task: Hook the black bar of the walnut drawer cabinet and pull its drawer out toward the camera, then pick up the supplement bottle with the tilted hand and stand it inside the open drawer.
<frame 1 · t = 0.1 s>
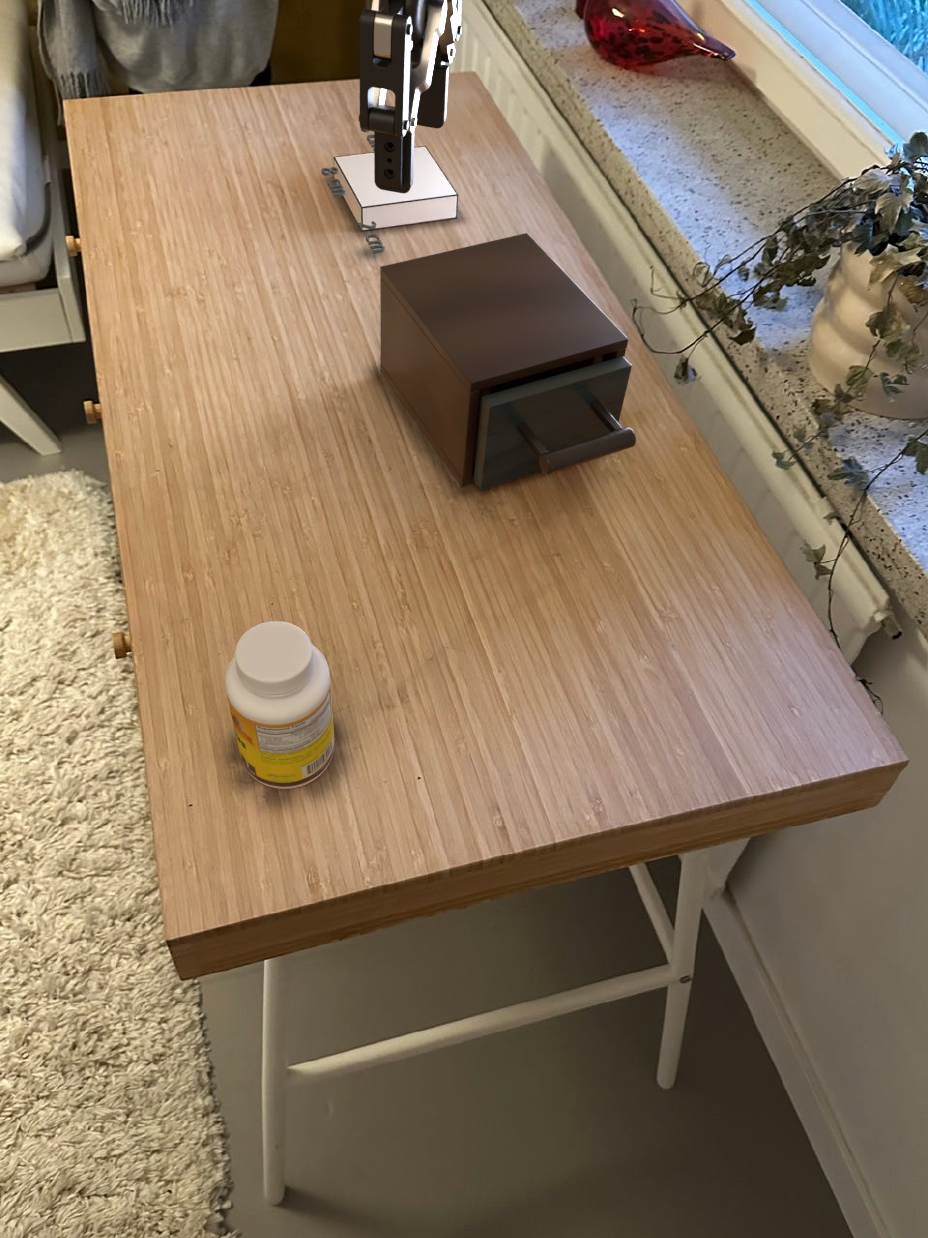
hand: (411, 154, 64), 21 cm above the table, tool pointing down, fingers open, 8 cm apart
supplement bottle: (288, 754, 61), on the table
cabinet: (490, 405, 81), on the table
drawer: (525, 392, 75), point 5 cm above the table, slide at 0.5 cm
container: (385, 201, 99), on the table
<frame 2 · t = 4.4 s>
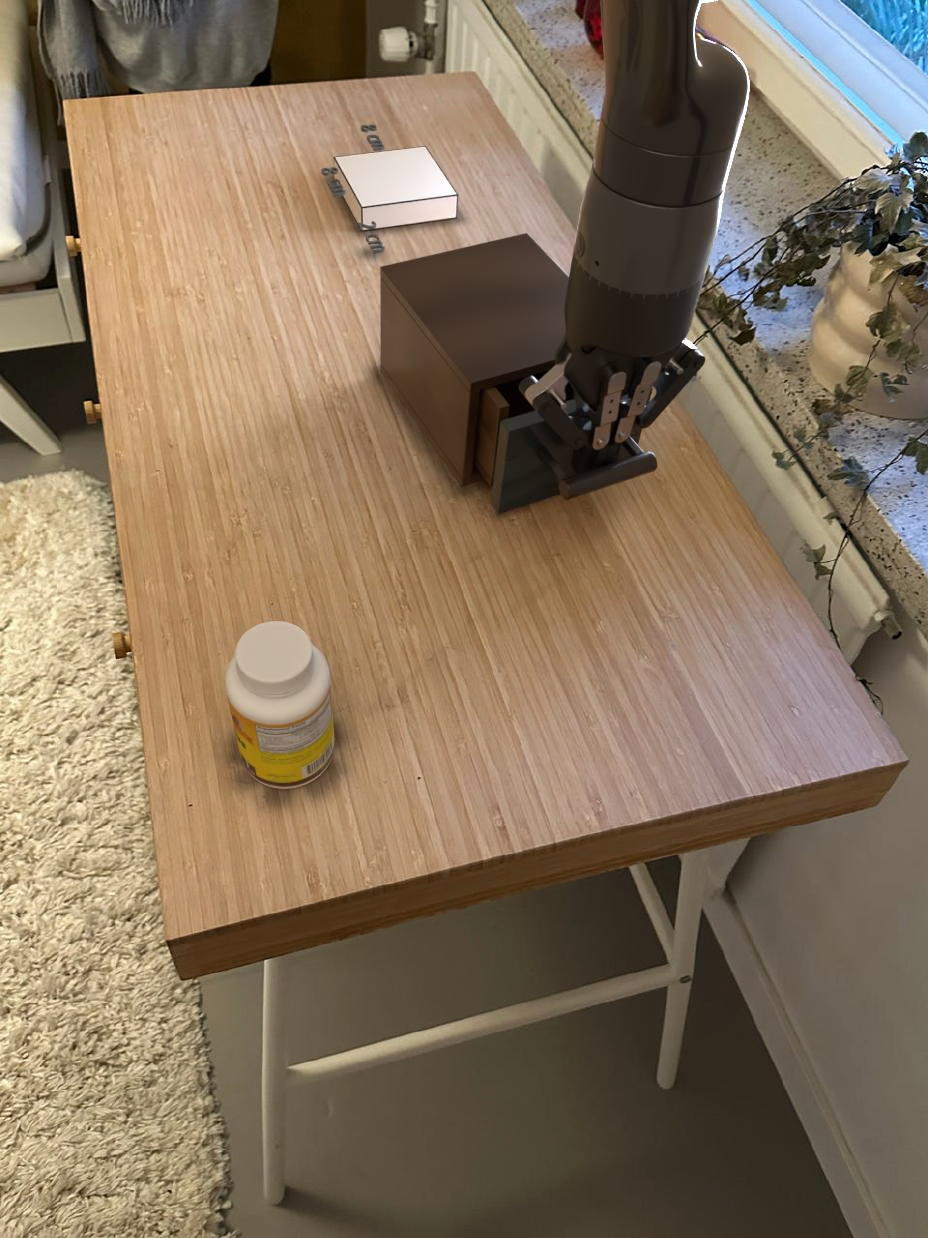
hand: (591, 476, 70), 4 cm above the table, tool pointing down, fingers closed
drawer: (543, 414, 73), point 5 cm above the table, slide at 3.2 cm, touching gripper
everything else where it was.
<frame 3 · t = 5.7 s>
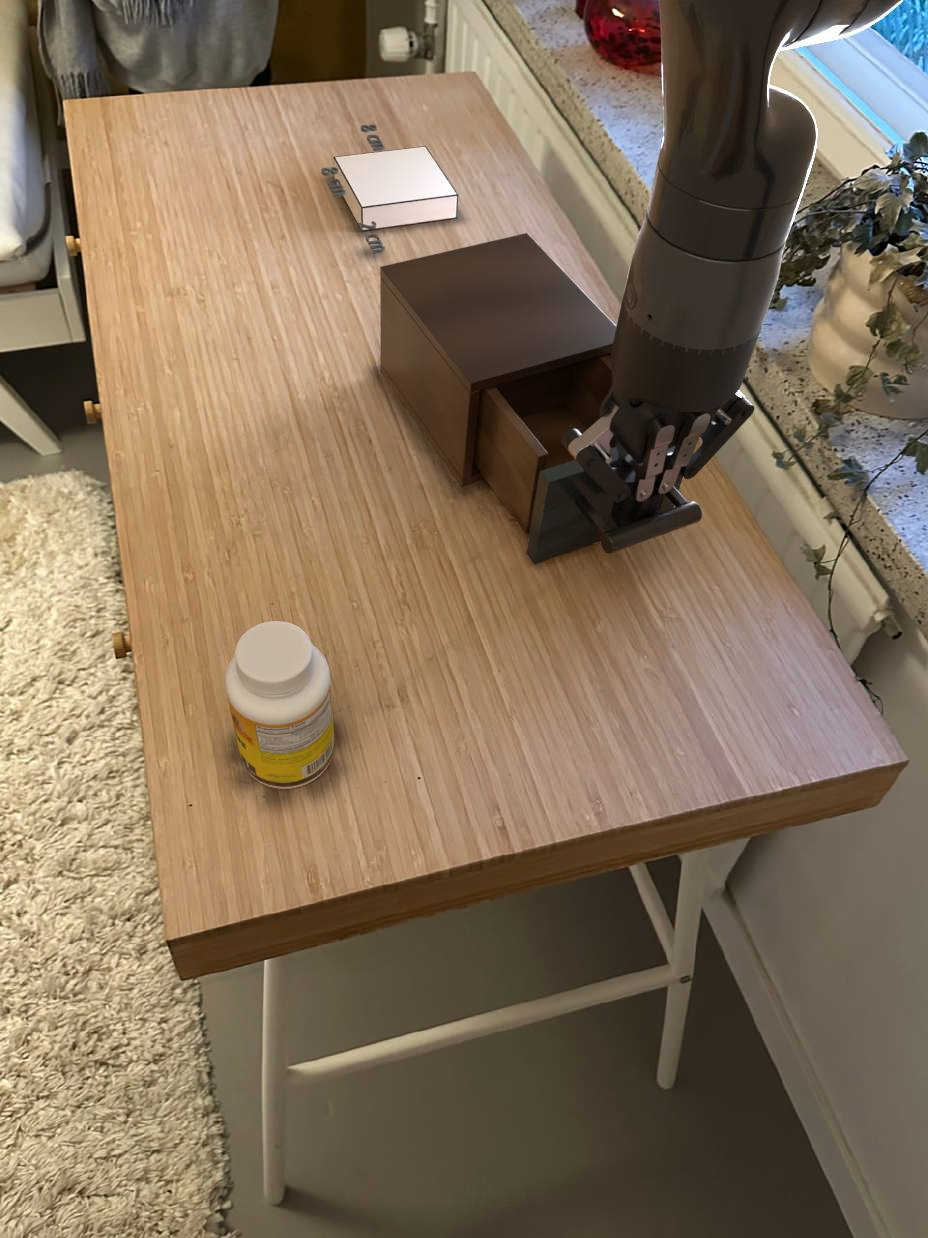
hand: (631, 526, 68), 4 cm above the table, tool pointing down, fingers closed
drawer: (580, 459, 71), point 5 cm above the table, slide at 8.3 cm, touching gripper
everything else where it was.
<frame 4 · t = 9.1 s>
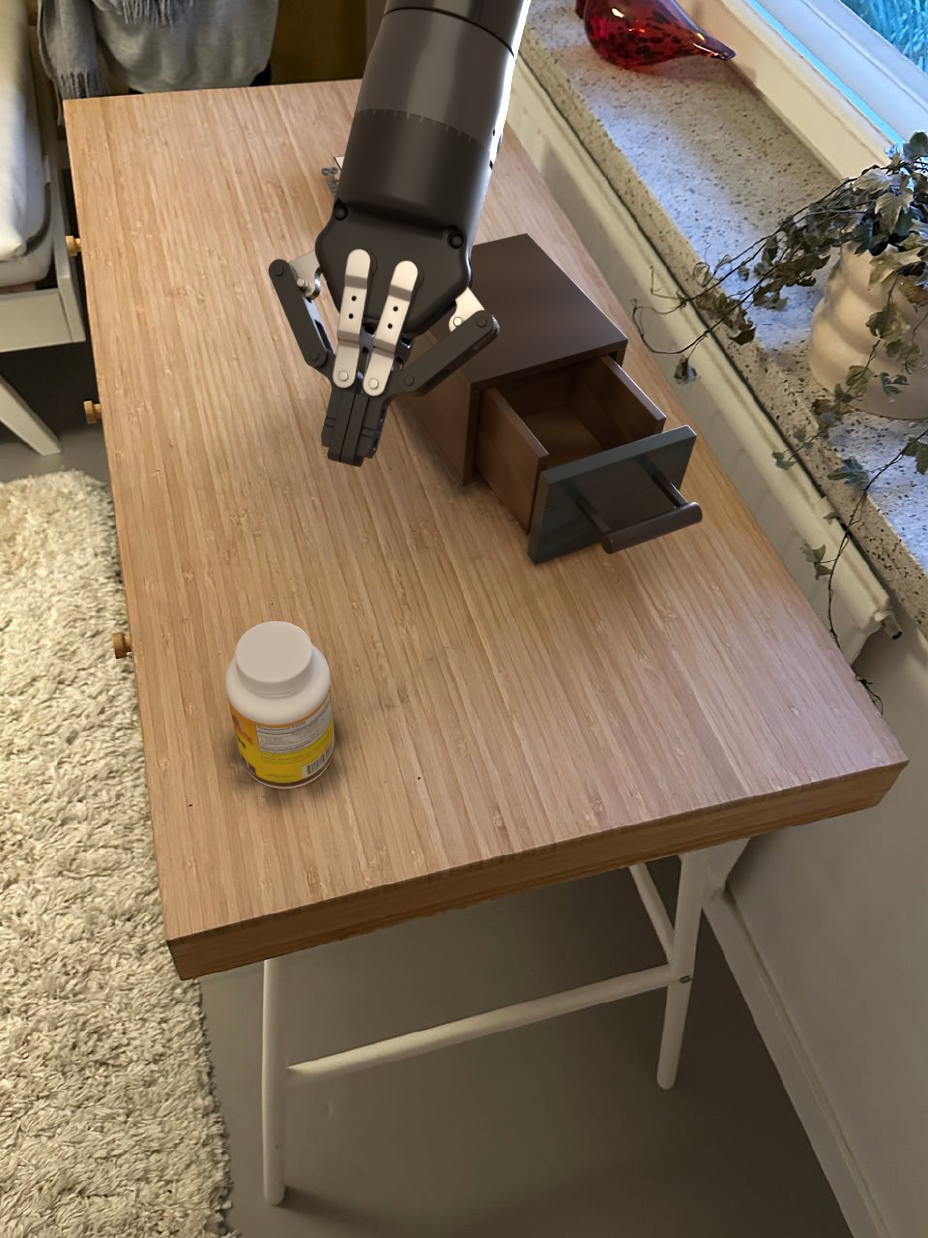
hand: (344, 462, 55), 15 cm above the table, tool tilted 45°, fingers closed
drawer: (580, 460, 71), point 5 cm above the table, slide at 8.4 cm
everything else where it was.
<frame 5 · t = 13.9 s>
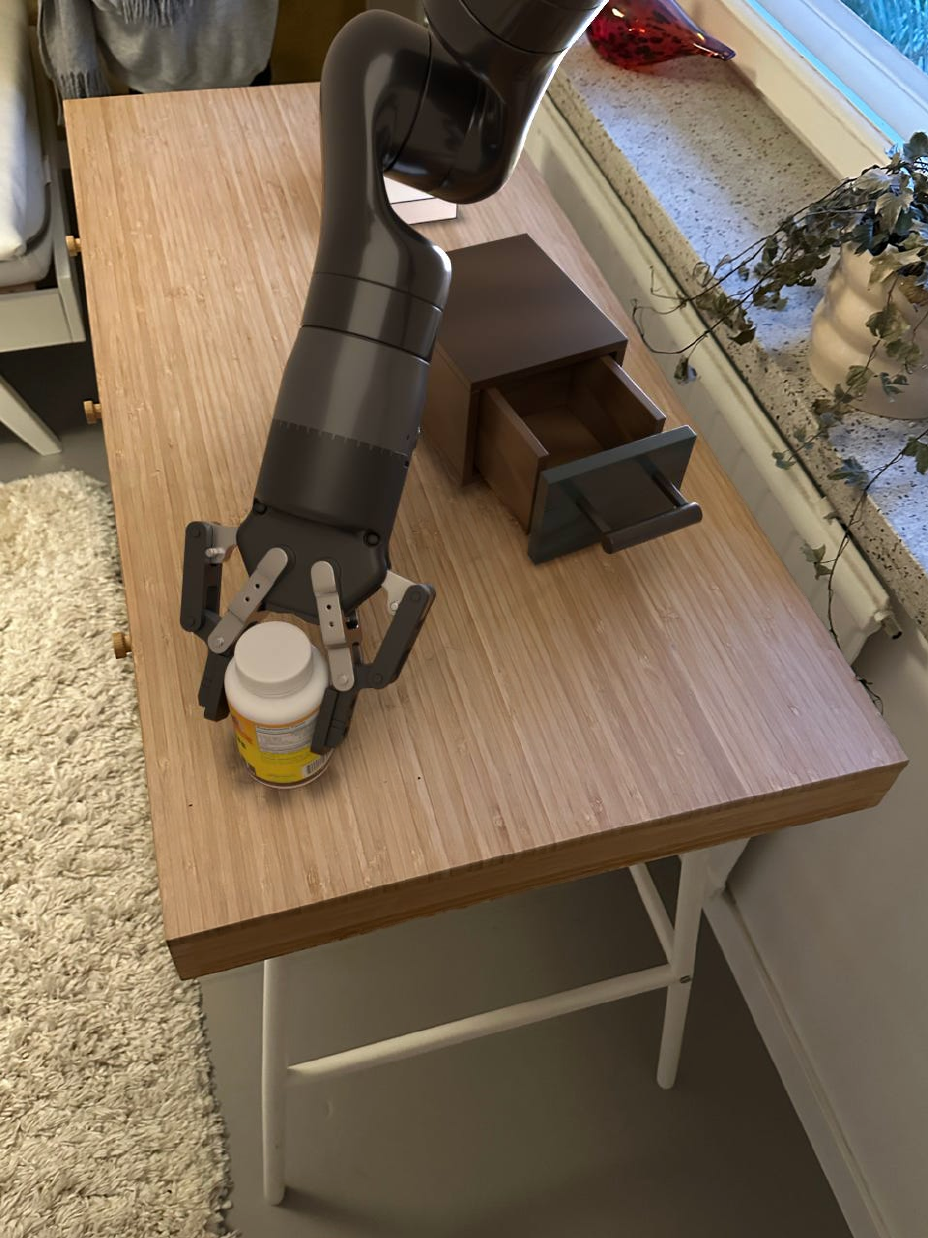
hand: (268, 733, 56), 5 cm above the table, tool tilted 45°, fingers closed on supplement bottle, 5 cm apart
supplement bottle: (288, 754, 61), on the table, touching gripper
everything else where it was.
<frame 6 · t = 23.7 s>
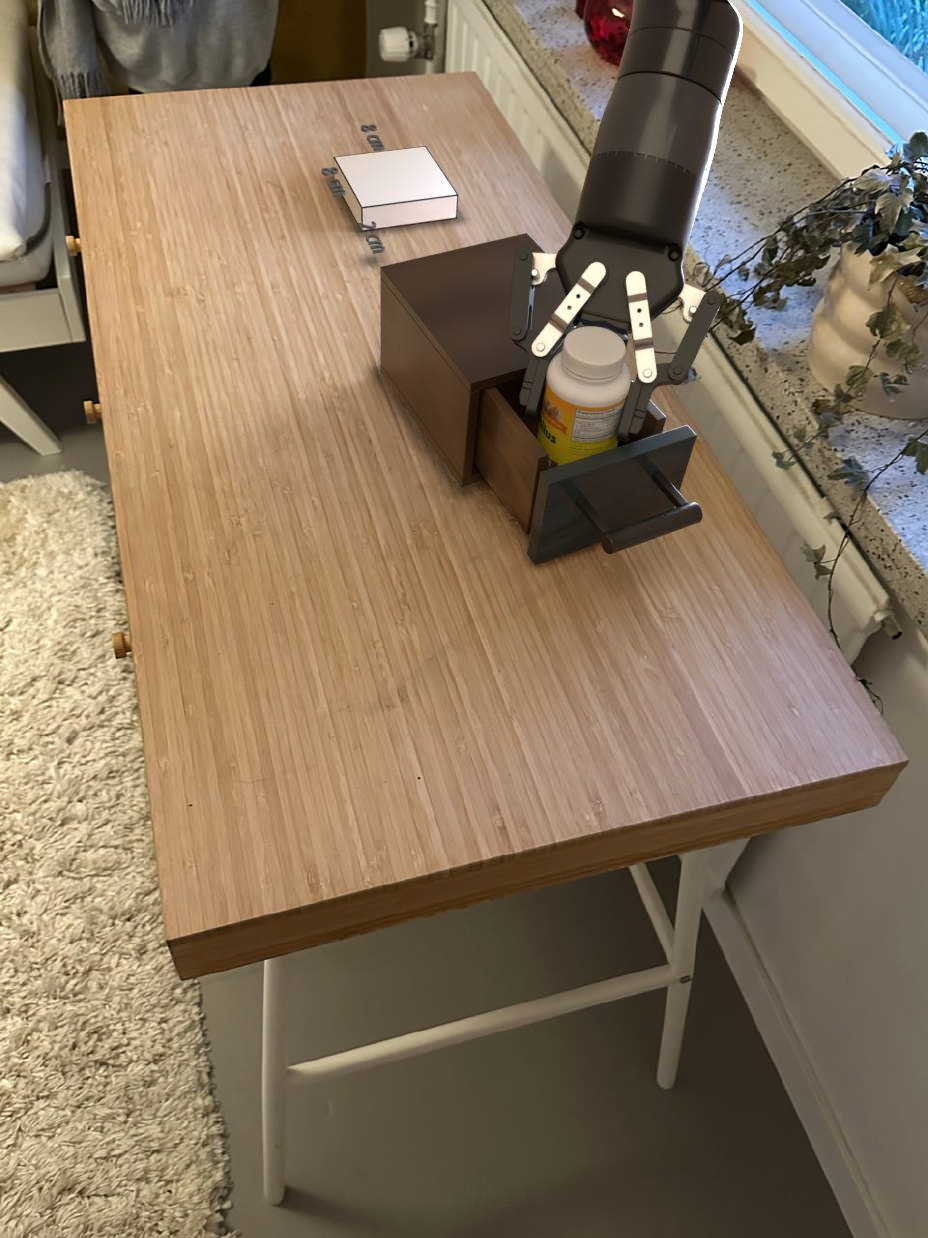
hand: (576, 428, 67), 8 cm above the table, tool tilted 45°, fingers closed on supplement bottle, 5 cm apart
supplement bottle: (572, 465, 72), point 3 cm above the table, touching gripper
everything else where it was.
when the fingers open (8 cm above the table, at t = 27.2 s): supplement bottle drops 2 cm, resting on drawer.
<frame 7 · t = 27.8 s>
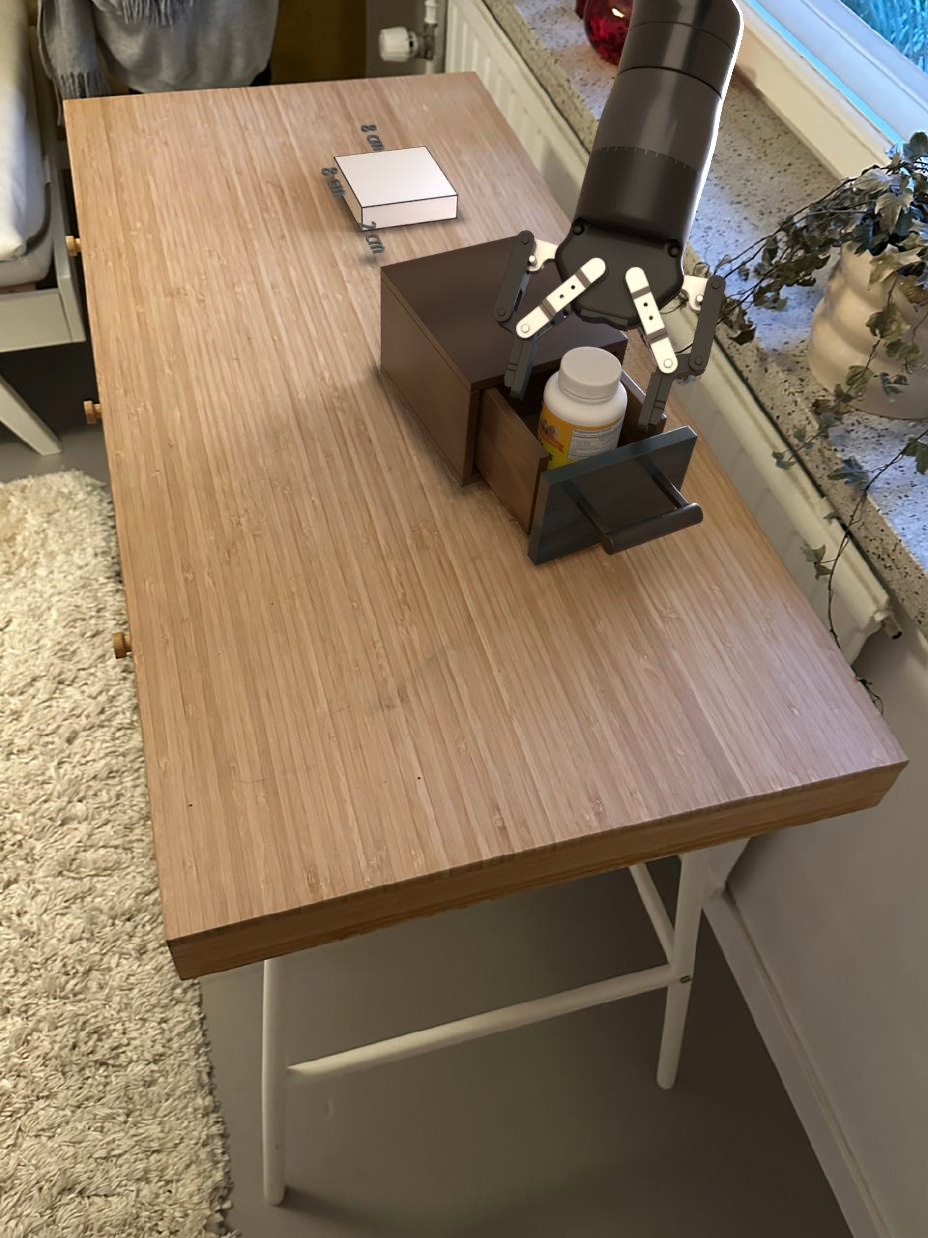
hand: (578, 415, 67), 9 cm above the table, tool tilted 45°, fingers open, 8 cm apart
supplement bottle: (568, 481, 74), point 2 cm above the table, touching drawer
drawer: (581, 461, 71), point 5 cm above the table, slide at 8.5 cm, touching supplement bottle
everything else where it was.
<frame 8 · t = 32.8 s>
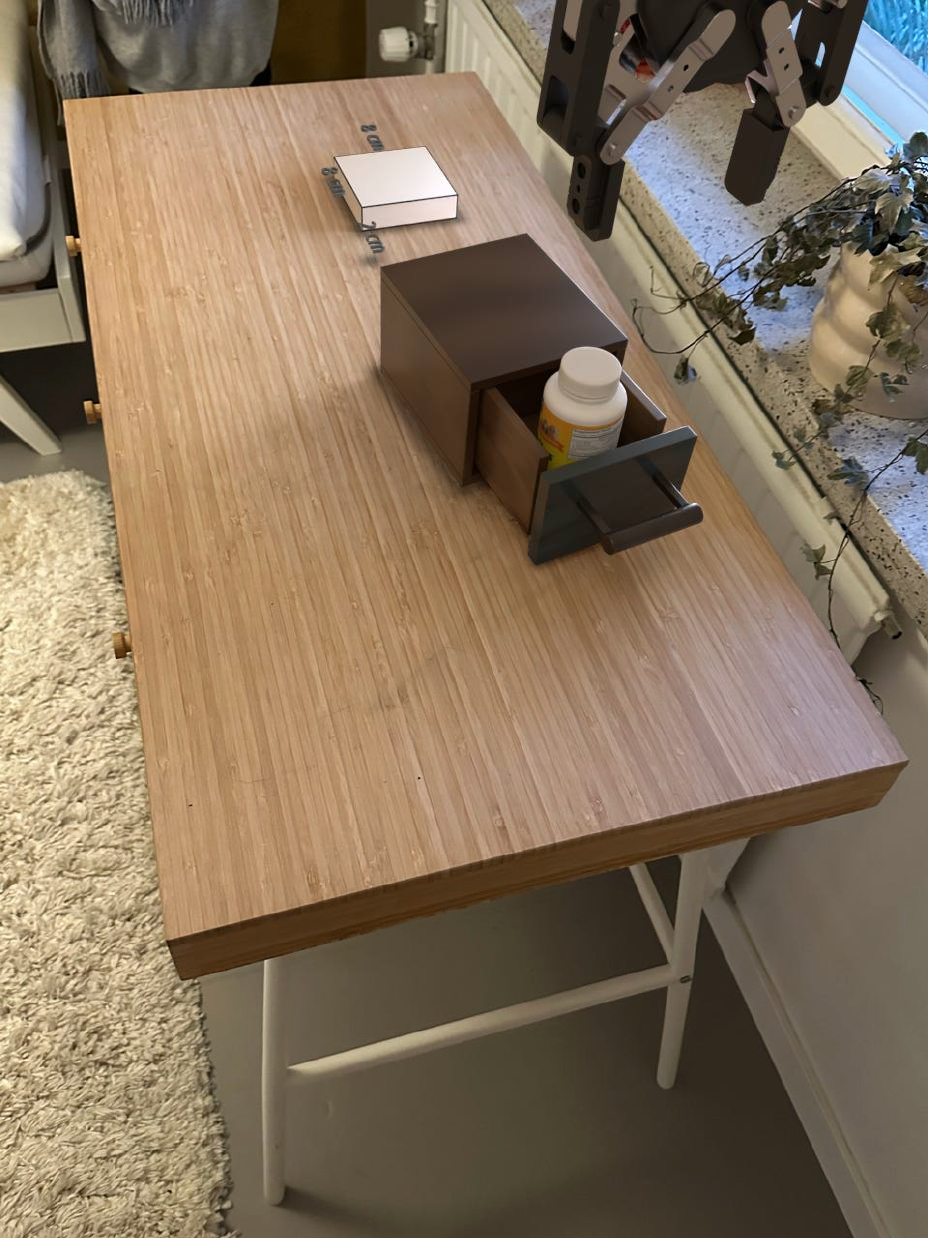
hand: (668, 213, 47), 28 cm above the table, tool pointing down, fingers open, 8 cm apart
nothing on the table moved.
at the end: drawer slide at 8.5 cm; supplement bottle inside the target area in the drawer (0.1 cm from its centre), point 1.8 cm above the cabinet's base; supplement bottle tilted 0° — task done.
